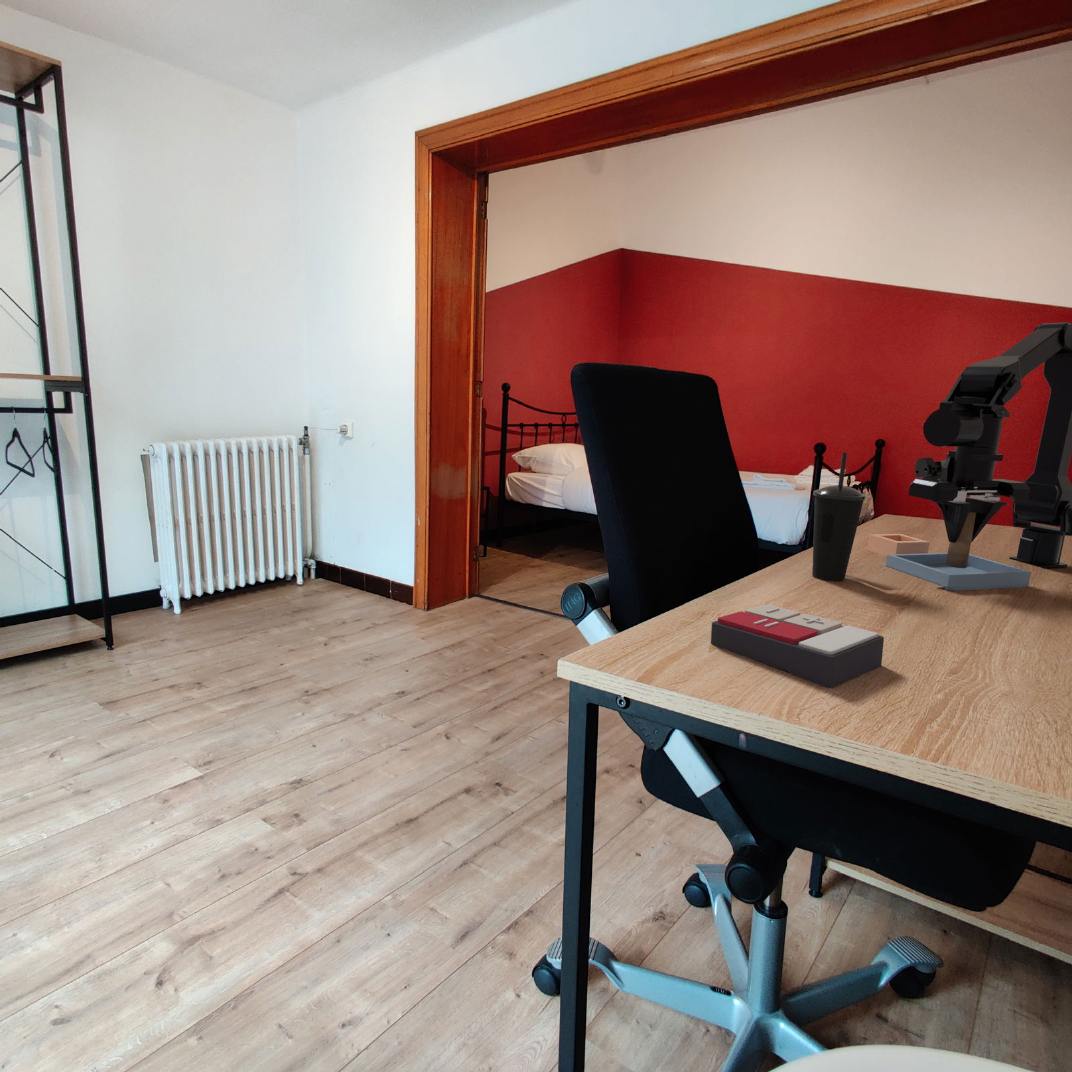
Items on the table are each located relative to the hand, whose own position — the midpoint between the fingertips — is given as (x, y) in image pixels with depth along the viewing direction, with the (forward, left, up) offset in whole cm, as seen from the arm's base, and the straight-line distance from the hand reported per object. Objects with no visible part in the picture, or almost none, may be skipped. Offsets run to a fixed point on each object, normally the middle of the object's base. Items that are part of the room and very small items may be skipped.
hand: (960, 542), depth 115 cm
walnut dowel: (0, 0, -4) cm, 4 cm away
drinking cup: (+22, -3, -6) cm, 23 cm away
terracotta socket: (-1, -14, -6) cm, 15 cm away
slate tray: (0, 0, -6) cm, 6 cm away
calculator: (+48, +25, -7) cm, 55 cm away
